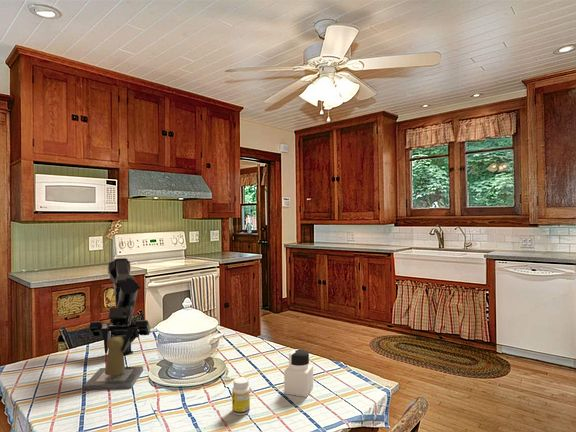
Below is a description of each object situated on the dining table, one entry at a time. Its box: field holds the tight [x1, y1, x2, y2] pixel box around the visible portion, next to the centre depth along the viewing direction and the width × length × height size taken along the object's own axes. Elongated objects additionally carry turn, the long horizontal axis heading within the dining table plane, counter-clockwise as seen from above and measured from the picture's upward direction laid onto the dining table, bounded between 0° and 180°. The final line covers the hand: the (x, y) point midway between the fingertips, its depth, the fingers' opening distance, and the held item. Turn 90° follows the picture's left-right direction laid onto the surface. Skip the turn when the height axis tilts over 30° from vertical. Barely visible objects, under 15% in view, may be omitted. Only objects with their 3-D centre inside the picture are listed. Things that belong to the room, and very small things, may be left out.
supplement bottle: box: [231, 376, 251, 416], centre depth 102 cm, size 5×5×8 cm
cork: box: [105, 337, 126, 375], centre depth 122 cm, size 6×6×11 cm
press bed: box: [83, 365, 144, 392], centre depth 122 cm, size 14×14×2 cm
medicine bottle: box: [283, 348, 314, 398], centre depth 115 cm, size 7×7×12 cm
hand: (114, 352), depth 121 cm, fingers closed on cork, 5 cm apart
